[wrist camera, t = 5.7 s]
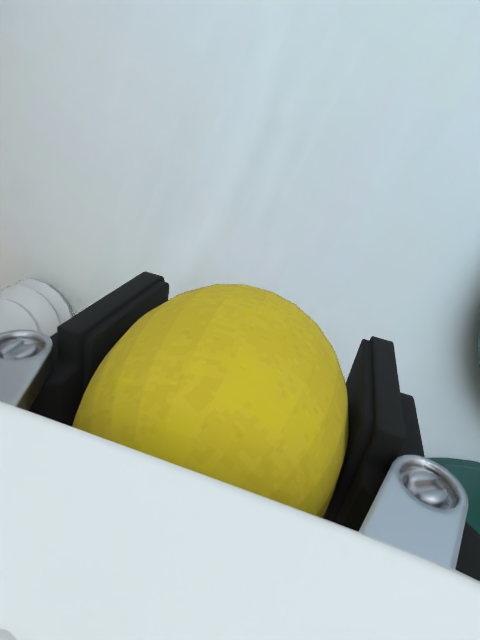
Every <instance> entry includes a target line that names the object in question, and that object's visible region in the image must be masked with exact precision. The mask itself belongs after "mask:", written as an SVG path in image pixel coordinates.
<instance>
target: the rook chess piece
mask: <svg viewBox="0 0 480 640" xmlns="http://www.w3.org/2000/svg"><path fill="white" fill-rule="evenodd" d="M72 317H73V316H72V313H71V310H70V307H69V304H68V303H67V302H66V300H65V299H64V297H63V296H62V295H61V293H59V292H58V291H57V290H55V289H54V288H53V287H51V286H50V285H48V284H46V283H43V282H40V281H37V280H34V279H26V280H19V281H18V282H17V283H16V284H14V285H13V286H8V287H6V288H5V289H4V290H3V291H1V292H0V333H2V332H6V331H11V330H33V331H38V332H41V333H43V334H46V335H47V336H48V337H50V336H52V335H53V334H55V333H56V332H57V327H58V326H59V325H61V324H62V323H64V322H66V321H67V320H69V319H70V318H72Z"/></svg>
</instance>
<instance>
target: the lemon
mask: <svg viewBox="0 0 480 640" xmlns="http://www.w3.org/2000/svg"><path fill="white" fill-rule="evenodd" d="M72 427H74V428H77V429H79V430H82V431H85V432H88V433H90V434H93V435H96V436H99V437H101V438H104V439H107V440H110V441H112V442H115V443H118V444H121V445H123V446H126V447H129V448H131V449H134V450H137V451H140V452H142V453H145V454H148V455H151V456H153V457H156V458H159V459H162V460H164V461H167V462H170V463H173V464H175V465H178V466H181V467H184V468H186V469H189V470H192V471H195V472H198V473H200V474H203V475H206V476H209V477H211V478H214V479H217V480H220V481H222V482H225V483H228V484H231V485H233V486H236V487H239V488H242V489H244V490H247V491H250V492H253V493H255V494H258V495H261V496H263V497H266V498H269V499H272V500H274V501H277V502H280V503H282V504H285V505H288V506H290V507H293V508H296V509H299V510H301V511H304V512H307V513H309V514H312V515H315V516H318V517H320V518H323V516H324V514H325V512H326V510H327V508H328V505H329V503H330V501H331V498H332V495H333V492H334V490H335V487H336V484H337V480H338V477H339V474H340V471H341V467H342V464H343V461H344V457H345V453H346V449H347V443H348V435H349V420H348V396H347V388H346V384H345V380H344V377H343V374H342V371H341V368H340V365H339V362H338V359H337V356H336V354H335V351H334V349H333V347H332V345H331V344H330V342H329V341H328V340H327V338H326V337H325V335H324V334H323V332H322V331H321V329H320V328H319V326H318V325H317V324H316V323H315V322H314V321H313V320H312V319H311V318H310V317H309V316H308V315H307V314H305V313H304V312H303V311H302V310H301V309H300V308H299V307H297V306H296V305H295V304H294V303H292V302H290V301H288V300H286V299H284V298H282V297H281V296H279V295H277V294H275V293H273V292H270V291H267V290H263V289H259V288H256V287H252V286H248V285H231V284H216V285H211V286H207V287H203V288H199V289H195V290H191V291H187V292H184V293H182V294H179V295H177V296H175V297H174V298H172V299H170V300H168V301H167V302H165V303H163V304H161V305H160V306H158V307H156V308H154V309H153V310H151V311H149V312H148V313H146V314H145V315H144V316H142V317H141V318H140V319H138V320H137V321H136V322H135V323H134V324H133V325H132V326H131V327H130V328H129V330H128V331H127V332H126V333H125V334H124V335H123V336H122V337H121V339H120V340H119V341H118V342H117V343H116V344H115V345H114V346H113V348H112V349H111V350H110V351H109V352H108V354H107V355H106V356H105V358H104V359H103V361H102V362H101V363H100V365H99V366H98V368H97V370H96V371H95V373H94V375H93V377H92V378H91V380H90V382H89V384H88V387H87V389H86V391H85V393H84V395H83V398H82V400H81V403H80V405H79V408H78V410H77V413H76V415H75V418H74V422H73V425H72Z"/></svg>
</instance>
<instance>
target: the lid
mask: <svg viewBox="0 0 480 640" xmlns="http://www.w3.org/2000/svg"><path fill="white" fill-rule="evenodd" d="M478 360H479V366H480V326H479V333H478Z"/></svg>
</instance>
